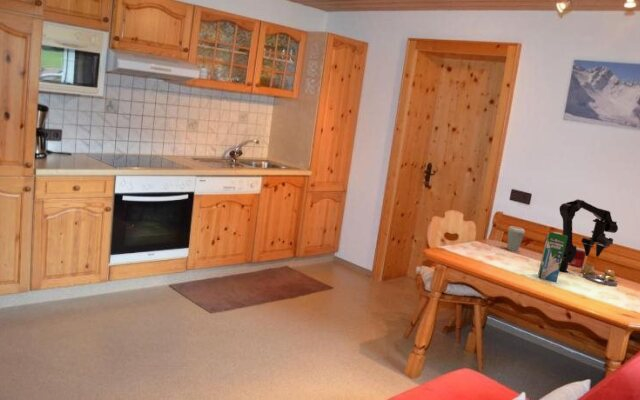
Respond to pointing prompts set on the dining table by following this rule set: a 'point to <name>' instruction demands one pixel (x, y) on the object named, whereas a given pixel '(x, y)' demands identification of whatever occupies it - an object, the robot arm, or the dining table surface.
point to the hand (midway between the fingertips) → (592, 256)
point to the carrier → (602, 278)
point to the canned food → (578, 258)
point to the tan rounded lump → (588, 269)
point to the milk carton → (552, 256)
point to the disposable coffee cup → (514, 237)
